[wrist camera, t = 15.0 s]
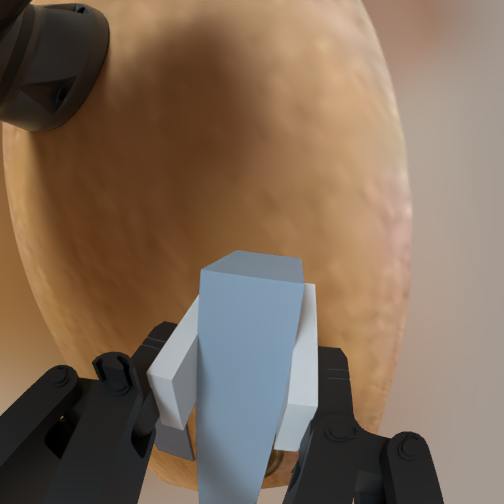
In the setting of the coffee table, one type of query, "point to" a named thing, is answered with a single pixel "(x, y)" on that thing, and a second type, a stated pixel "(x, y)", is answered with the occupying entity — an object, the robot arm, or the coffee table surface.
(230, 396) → the stick
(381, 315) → the coffee table surface
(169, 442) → the mat
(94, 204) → the coffee table surface
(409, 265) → the coffee table surface
